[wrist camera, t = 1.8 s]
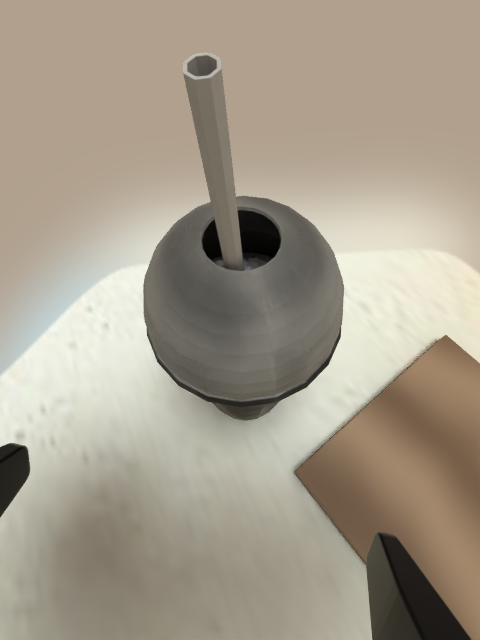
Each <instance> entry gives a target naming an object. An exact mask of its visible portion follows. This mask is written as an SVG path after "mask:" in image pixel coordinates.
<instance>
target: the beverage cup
mask: <svg viewBox="0 0 480 640" xmlns="http://www.w3.org/2000/svg"><path fill="white" fill-rule="evenodd" d="M183 74H184V78H185V83H186V88H187V92H188V97H189V102H190V106H191V111H192V116H193V121H194V125H195V130H196V134H197V139H198V144H199V149H200V153H201V158H202V162H203V167H204V172H205V176H206V181H207V186H208V190H209V195H210V200H211V202H209V203H207V204H204V205H201V206H199V207H197V208H195V209H194V210H192V211H191V212H190V213H188V214H187V215H185V216H184V217H182V218H181V219H180V220H178V221H177V222H176V223H175V224H174V225H173V226H172V227H171V229H170V230H169V231H168V232H167V234H166V235H165V236H164V237H163V239H162V240H161V241H160V242H159V244H158V245H157V247H156V249H155V251H154V253H153V256H152V259H151V261H150V264H149V267H148V270H147V272H146V275H145V280H144V318H145V323H146V326H147V336H148V339H149V341H150V344H151V346H152V349H153V351H154V354H155V357H156V359H157V362H158V363H159V364H160V365H161V367H162V368H163V369H164V370H165V371H166V372H167V373H168V374H169V376H170V377H171V378H172V379H173V380H174V381H175V382H176V383H177V385H178V386H180V387H182V388H184V389H186V390H188V391H189V392H191V393H193V394H195V395H197V396H198V397H200V398H202V399H204V400H206V401H208V402H213V403H214V404H215V405H216V406H217V407H218V408H219V409H220V410H221V411H222V412H224V413H226V414H228V415H229V416H231V417H233V418H235V419H241V420H251V419H256V418H258V417H260V416H262V415H264V414H266V413H268V412H269V411H270V410H271V409H272V408H273V407H274V406H275V405H276V404H277V403H278V402H279V401H280V400H282V399H284V398H286V397H288V396H290V395H292V394H294V393H296V392H298V391H300V390H302V389H304V388H306V387H307V386H308V385H309V384H310V383H311V382H312V381H313V380H314V379H315V378H316V377H317V376H318V375H319V374H320V373H321V372H322V371H323V370H324V369H325V368H326V367H327V366H328V365H329V362H330V360H331V358H332V356H333V353H334V351H335V349H336V346H337V344H338V342H339V340H340V337H341V325H342V316H343V296H344V285H343V280H342V276H341V273H340V270H339V267H338V264H337V261H336V258H335V255H334V252H333V251H332V249H331V247H330V245H329V244H328V243H327V241H326V240H325V239H324V237H323V236H322V235H321V234H320V232H319V231H318V230H317V228H316V227H315V226H314V225H313V224H312V223H311V222H310V221H308V220H307V219H306V218H304V217H303V216H301V215H300V214H299V213H297V212H296V211H294V210H293V209H292V208H290V207H288V206H286V205H283V204H280V203H277V202H275V201H272V200H270V199H266V198H257V197H248V196H239V197H236V194H235V185H234V177H233V167H232V158H231V149H230V141H229V131H228V123H227V114H226V105H225V96H224V87H223V77H222V69H221V60H220V58H219V57H217V56H215V55H213V54H211V53H209V52H208V53H200V54H193V55H192V56H191V57H190V58H188V59H187V60H186V61H185V62H183Z"/></svg>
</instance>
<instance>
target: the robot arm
mask: <svg viewBox="0 0 480 640" xmlns="http://www.w3.org/2000/svg"><path fill="white" fill-rule="evenodd" d="M29 473H30V463H29V454H28V449H27V447H26V446H24V445H19V444H15V443H9V444H6V445H4V446H2V447H0V517H1V516H2V514H3V513H4V511H5V510H6V509H7V507H8V506H9V504H10V503H11V501H12V500H13V499H14V497H15V496H16V494H17V493H18V492H19V490H20V489H21V487H22V486H23V484H24V483H25V482H26V480H27V478H28V476H29ZM366 568H367V580H368V592H369V604H370V616H371V628H372V639H373V640H472V639H471V638H470V636H469V635H468V634H467V632H466V631H465V629H464V628H463V627H462V625H461V624H460V623H459V621H458V620H457V619H456V617H455V616H454V614H453V613H452V612H451V610H450V609H449V608H448V606H447V605H446V603H445V602H444V601H443V599H442V598H441V597H440V595H439V594H438V593H437V591H436V590H435V588H434V587H433V586H432V584H431V583H430V582H429V580H428V579H427V577H426V576H425V575H424V573H423V572H422V571H421V569H420V568H419V567H418V565H417V564H416V562H415V561H414V560H413V558H412V557H411V556H410V554H409V553H408V551H407V550H406V549H405V547H404V546H403V545H402V543H401V542H400V541H399V539H398V538H397V537H396V536H394V535H392V534H388V533H384V532H377V533H376V534H375V536H374V538H373V541H372V543H371V546H370V549H369V551H368V554H367V560H366Z"/></svg>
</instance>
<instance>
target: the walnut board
mask: <svg viewBox="0 0 480 640" xmlns="http://www.w3.org/2000/svg"><path fill="white" fill-rule="evenodd" d="M294 473H295V474H296V475H297V477H298V478H299V479H300V480H301V482H302V483H303V484H304V486H305V487H306V488H307V489H308V491H309V492H310V493H311V495H312V496H313V497H314V498H315V500H316V501H317V502H318V504H319V505H320V506H321V507H322V509H323V510H324V511H325V513H326V514H327V515H328V516H329V518H330V519H331V520H332V522H333V523H334V524H335V525H336V527H337V528H338V529H339V531H340V532H341V533H342V534H343V536H344V537H345V538H346V540H347V541H348V542H349V543H350V545H351V546H352V547H353V549H354V550H355V551H356V552H357V554H358V555H359V556H360V558H361V559H362V560H363V561H364V563H365V564H366V560H367V554H368V551H369V549H370V546H371V543H372V541H373V538H374V536H375V534H376V533H377V532H384V533H388V534H392V535H394V536H396V537H397V538H398V539H399V541H400V542H401V543H402V545H403V546H404V547H405V549H406V550H407V551H408V553H409V554H410V556H411V557H412V558H413V560H414V561H415V562H416V564H417V565H418V567H419V568H420V569H421V571H422V572H423V573H424V575H425V576H426V577H427V579H428V580H429V582H430V583H431V584H432V586H433V587H434V588H435V590H436V591H437V593H438V594H439V595H440V597H441V598H442V599H443V601H444V602H445V603H446V605H447V606H448V608H449V609H450V610H451V612H452V613H453V614H454V616H455V617H456V619H457V620H458V621H459V623H460V624H461V625H462V627H463V628H464V629H465V631H466V632H467V634H468V635H469V636H470V638H471V639H472V640H480V363H478V362H477V361H476V360H475V359H474V358H473V357H471V356H470V355H469V354H468V353H467V352H465V351H464V350H463V349H462V348H461V347H460V346H458V345H457V344H456V343H455V342H454V341H453V340H451V339H450V338H449V337H448V336H447V335H445V336H444V337H442V338H441V339H439V340H438V341H437V342H436V343H435V344H434V345H433V346H432V347H431V348H429V349H428V350H427V351H426V352H425V353H424V354H423V355H422V356H421V357H420V358H418V359H417V360H416V361H415V362H414V363H413V364H412V365H411V366H410V367H409V368H407V369H406V370H405V371H404V372H403V373H402V374H401V375H400V376H399V377H398V378H397V379H395V380H394V381H393V382H392V383H391V384H390V385H389V386H388V387H387V388H386V389H384V390H383V391H382V392H381V393H380V394H379V395H378V396H377V397H376V398H375V399H374V400H372V401H371V402H370V403H369V404H368V405H367V406H366V407H365V408H364V409H363V410H361V411H360V412H359V413H358V414H357V415H356V416H355V417H354V418H353V419H352V420H351V421H349V422H348V423H347V424H346V425H345V426H344V427H343V428H342V429H341V430H340V431H338V432H337V433H336V434H335V435H334V436H333V437H332V438H331V439H330V440H329V441H328V442H326V443H325V444H324V445H323V446H322V447H321V448H320V449H319V450H318V451H317V452H315V453H314V454H313V455H312V456H311V457H310V458H309V459H308V460H307V461H306V462H305V463H303V464H302V465H301V466H300V467H299V468H298V469H297V470H296V471H295V472H294Z"/></svg>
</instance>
